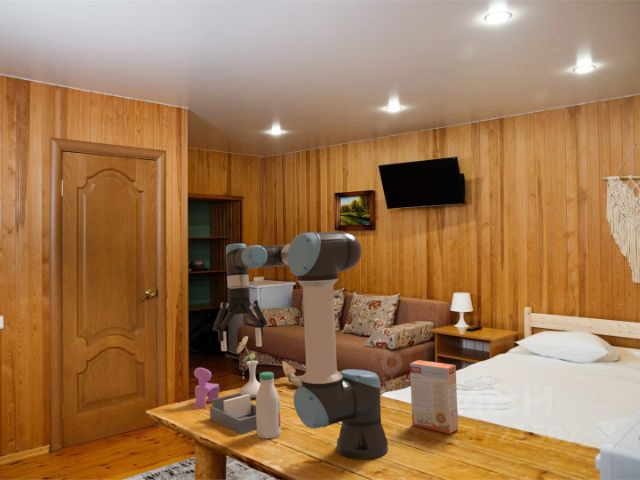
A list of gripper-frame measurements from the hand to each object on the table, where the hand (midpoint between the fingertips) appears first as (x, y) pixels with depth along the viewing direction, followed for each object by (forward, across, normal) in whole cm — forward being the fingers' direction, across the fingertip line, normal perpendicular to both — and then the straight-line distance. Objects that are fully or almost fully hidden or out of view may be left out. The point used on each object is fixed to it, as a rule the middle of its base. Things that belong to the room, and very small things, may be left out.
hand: (241, 348), depth 186 cm
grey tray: (+25, 0, -3) cm, 26 cm away
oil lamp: (+22, -40, -25) cm, 52 cm away
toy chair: (+22, +1, -30) cm, 38 cm away
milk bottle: (+27, -1, +14) cm, 31 cm away
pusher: (+24, 0, -5) cm, 24 cm away
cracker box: (+29, -45, +45) cm, 70 cm away
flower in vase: (+22, -17, -27) cm, 39 cm away
